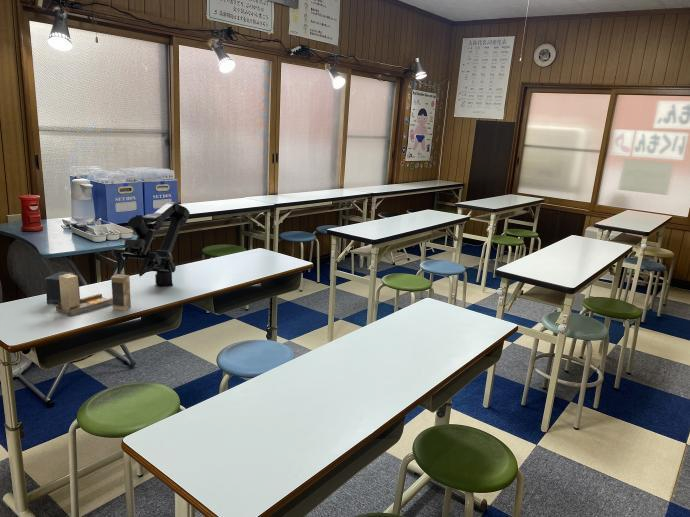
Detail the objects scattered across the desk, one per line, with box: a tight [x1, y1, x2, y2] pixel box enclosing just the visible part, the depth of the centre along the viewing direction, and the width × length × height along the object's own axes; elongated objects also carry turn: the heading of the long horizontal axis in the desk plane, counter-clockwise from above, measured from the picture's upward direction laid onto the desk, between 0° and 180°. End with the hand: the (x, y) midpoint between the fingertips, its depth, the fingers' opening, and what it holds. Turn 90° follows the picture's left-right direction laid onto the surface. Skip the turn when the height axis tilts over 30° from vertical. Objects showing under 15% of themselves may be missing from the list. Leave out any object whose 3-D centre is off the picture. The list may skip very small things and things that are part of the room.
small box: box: [44, 270, 76, 305], centre depth 199 cm, size 11×6×10 cm, turn 179°
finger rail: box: [55, 274, 113, 317], centre depth 193 cm, size 18×9×14 cm, turn 151°
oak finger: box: [110, 273, 132, 311], centre depth 194 cm, size 5×5×13 cm
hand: (128, 274), depth 199 cm, fingers open, 9 cm apart
